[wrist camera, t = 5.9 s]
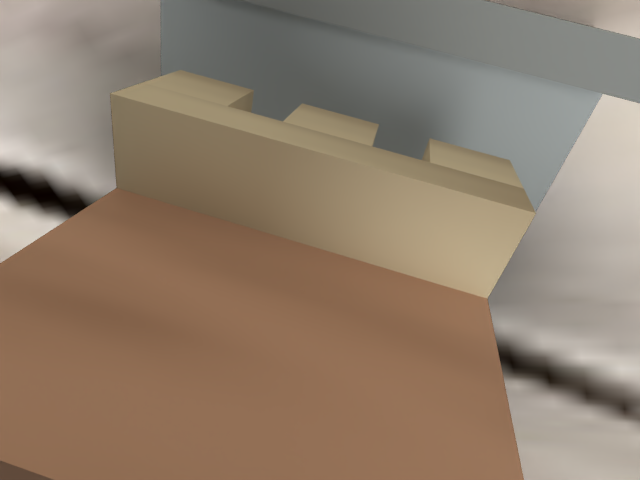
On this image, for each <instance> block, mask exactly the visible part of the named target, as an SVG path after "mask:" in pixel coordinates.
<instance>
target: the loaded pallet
mask: <svg viewBox="0 0 640 480" xmlns="http://www.w3.org/2000/svg"><path fill="white" fill-rule="evenodd" d="M253 93H254V90H252V89H248V88H244V87H241V86H237V85H234V84H230V83H226V82H223V81H219V80H215V79H212V78H208V77H204V76H201V75H197V74H193V73H190V72H186V71H182V70H179V71H176V72H173V73H170V74H167V75H164V76H161V77H158V78H155V79H152V80H149V81H146V82H143V83H140V84H137V85H134V86H131V87H128V88H125V89H122V90H119V91H116V92H113V93H110V100H111V114H112V128H113V143H114V157H115V171H116V186H117V188H116V189H114V190H113V191H111V192H110V193H108V194H107V195H105V196H104V197H102V198H101V199H99V200H97V201H96V202H94V203H93V204H91V205H90V206H88V207H87V208H85V209H84V210H82V211H80V212H79V213H77V214H76V215H74V216H73V217H71V218H70V219H68V220H67V221H65V222H64V223H62V224H60V225H59V226H57V227H56V228H54V229H53V230H51V231H50V232H48V233H47V234H45V235H43V236H42V237H40V238H39V239H37V240H36V241H34V242H33V243H31V244H30V245H28V246H26V247H25V248H23V249H22V250H20V251H19V252H17V253H16V254H14V255H13V256H11V257H9V258H8V259H6V260H5V261H3V262H2V263H0V480H524V478H523V473H522V468H521V463H520V458H519V453H518V448H517V443H516V438H515V433H514V428H513V423H512V418H511V414H510V409H509V404H508V399H507V394H506V389H505V384H504V379H503V374H502V369H501V364H500V359H499V354H498V349H497V344H496V339H495V334H494V329H493V324H492V319H491V314H490V309H489V304H488V297H489V295H490V293H491V292H492V290H493V288H494V286H495V285H496V283H497V281H498V279H499V278H500V276H501V274H502V272H503V271H504V269H505V267H506V265H507V264H508V262H509V260H510V258H511V257H512V255H513V253H514V251H515V249H516V248H517V246H518V244H519V242H520V241H521V239H522V237H523V235H524V234H525V232H526V230H527V228H528V227H529V225H530V223H531V221H532V220H533V218H534V216H535V214H536V212H535V210H534V208H533V206H532V204H531V202H530V200H529V198H528V196H527V194H526V192H525V190H524V188H523V186H522V184H521V182H520V180H519V178H518V176H517V174H516V172H515V170H514V168H513V166H512V164H511V162H510V160H507V159H504V158H500V157H496V156H493V155H489V154H485V153H482V152H478V151H474V150H471V149H467V148H463V147H460V146H456V145H452V144H449V143H445V142H442V141H438V140H434V139H431V138H429V141H428V144H427V147H426V149H425V152H424V155H423V158H422V160H419V159H416V158H412V157H408V156H405V155H401V154H398V153H394V152H390V151H387V150H383V149H380V148H376V147H373V144H374V140H375V137H376V133H377V130H378V126H379V124H376V123H372V122H369V121H365V120H361V119H358V118H354V117H350V116H347V115H343V114H339V113H336V112H332V111H328V110H325V109H321V108H317V107H314V106H310V105H307V104H303V103H302V104H301V105H300V106H299V107H298V108H297V109H296V110H295V111H293V112H292V113H291V114H290V115H289V116H288V117H287V118H286V119H285V120H284V121H279V120H275V119H272V118H268V117H265V116H261V115H257V114H254V113H251V111H252V102H253Z"/></svg>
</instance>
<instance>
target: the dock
mask: <svg viewBox="0 0 640 480" xmlns="http://www.w3.org/2000/svg"><path fill="white" fill-rule="evenodd" d="M179 70H182V71H186V72H190V73H193V74H197V75H201V76H204V77H208V78H212V79H215V80H219V81H223V82H226V83H230V84H234V85H237V86H241V87H244V88H248V89H252V90H254V93H253V102H252V111H251V113H254V114H257V115H261V116H265V117H268V118H272V119H275V120H279V121H284V120H285V119H286V118H287V117H288V116H289V115H290V114H291V113H292V112H293V111H295V110H296V109H297V108H298V107H299V106H300V105H301V104H302V103H303V104H307V105H310V106H314V107H317V108H321V109H325V110H328V111H332V112H336V113H339V114H343V115H347V116H350V117H354V118H358V119H361V120H365V121H369V122H372V123H376V124H379V126H378V130H377V133H376V137H375V140H374V144H373V147H376V148H380V149H383V150H387V151H390V152H394V153H398V154H401V155H405V156H408V157H412V158H416V159H419V160H422V158H423V155H424V152H425V149H426V147H427V144H428V141H429V138H431V139H434V140H438V141H442V142H445V143H449V144H452V145H456V146H460V147H463V148H467V149H471V150H474V151H478V152H482V153H485V154H489V155H493V156H496V157H500V158H504V159H507V160H510V162H511V164H512V166H513V168H514V170H515V172H516V174H517V176H518V178H519V180H520V182H521V184H522V186H523V188H524V190H525V192H526V194H527V196H528V198H529V200H530V202H531V204H532V206H533V208H534V210H535V212H536V210H537V209H538V207H539V205H540V203H541V201H542V200H543V198H544V196H545V194H546V193H547V191H548V189H549V187H550V186H551V184H552V182H553V180H554V179H555V177H556V175H557V173H558V172H559V170H560V168H561V166H562V165H563V163H564V161H565V159H566V158H567V156H568V154H569V152H570V150H571V149H572V147H573V145H574V143H575V142H576V140H577V138H578V136H579V135H580V133H581V131H582V129H583V128H584V126H585V124H586V122H587V121H588V119H589V117H590V115H591V114H592V112H593V110H594V108H595V107H596V105H597V103H598V101H599V99H600V98H601V96H602V94H606V95H610V96H614V97H618V98H622V99H625V100H629V101H633V102H637V103H640V39H639V38H635V37H631V36H627V35H623V34H619V33H615V32H611V31H607V30H603V29H599V28H595V27H591V26H587V25H583V24H579V23H575V22H570V21H566V20H562V19H558V18H554V17H550V16H546V15H542V14H538V13H534V12H530V11H526V10H522V9H518V8H514V7H510V6H506V5H502V4H498V3H494V2H490V1H486V0H161V76H164V75H167V74H170V73H173V72H176V71H179Z"/></svg>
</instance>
